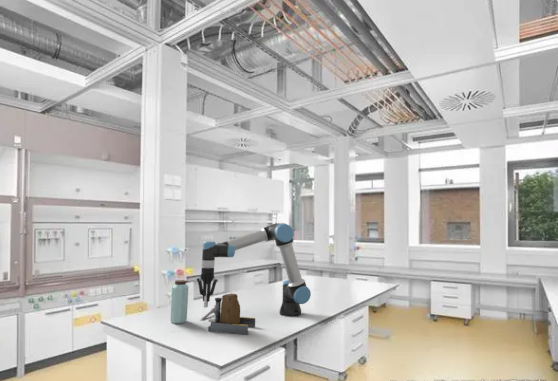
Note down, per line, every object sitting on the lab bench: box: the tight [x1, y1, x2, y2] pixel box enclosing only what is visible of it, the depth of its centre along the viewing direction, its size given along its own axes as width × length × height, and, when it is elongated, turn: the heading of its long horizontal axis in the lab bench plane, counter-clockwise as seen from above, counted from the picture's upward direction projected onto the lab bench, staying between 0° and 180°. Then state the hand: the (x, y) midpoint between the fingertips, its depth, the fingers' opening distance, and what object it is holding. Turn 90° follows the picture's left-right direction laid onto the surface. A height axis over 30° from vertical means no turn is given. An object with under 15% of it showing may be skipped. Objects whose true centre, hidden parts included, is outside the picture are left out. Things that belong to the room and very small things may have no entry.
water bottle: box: [170, 279, 189, 325], centre depth 227 cm, size 10×10×25 cm
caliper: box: [200, 304, 216, 321], centre depth 240 cm, size 20×1×6 cm, turn 161°
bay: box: [207, 316, 256, 336], centre depth 215 cm, size 23×16×5 cm
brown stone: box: [220, 293, 241, 324], centre depth 216 cm, size 11×8×20 cm
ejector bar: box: [208, 297, 222, 323], centre depth 218 cm, size 4×18×17 cm, turn 168°
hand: (205, 306), depth 219 cm, fingers closed
